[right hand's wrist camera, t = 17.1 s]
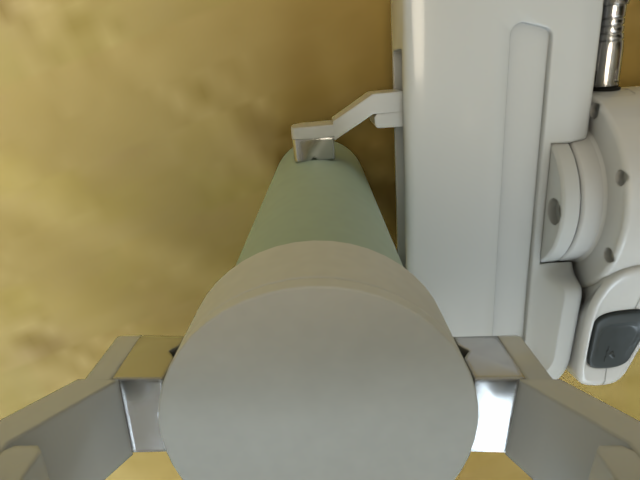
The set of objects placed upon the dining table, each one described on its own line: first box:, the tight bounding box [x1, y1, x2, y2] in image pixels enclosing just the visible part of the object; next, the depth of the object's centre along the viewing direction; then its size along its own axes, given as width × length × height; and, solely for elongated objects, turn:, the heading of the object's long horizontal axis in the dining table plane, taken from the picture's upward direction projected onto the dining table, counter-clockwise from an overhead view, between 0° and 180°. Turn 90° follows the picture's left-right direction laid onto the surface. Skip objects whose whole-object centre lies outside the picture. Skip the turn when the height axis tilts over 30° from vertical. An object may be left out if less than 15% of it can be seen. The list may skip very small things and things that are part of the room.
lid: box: [159, 240, 478, 480], centre depth 9 cm, size 6×6×2 cm
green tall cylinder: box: [236, 141, 403, 266], centre depth 17 cm, size 5×5×18 cm
